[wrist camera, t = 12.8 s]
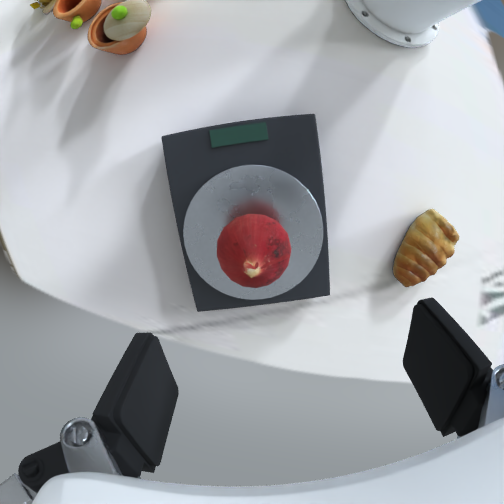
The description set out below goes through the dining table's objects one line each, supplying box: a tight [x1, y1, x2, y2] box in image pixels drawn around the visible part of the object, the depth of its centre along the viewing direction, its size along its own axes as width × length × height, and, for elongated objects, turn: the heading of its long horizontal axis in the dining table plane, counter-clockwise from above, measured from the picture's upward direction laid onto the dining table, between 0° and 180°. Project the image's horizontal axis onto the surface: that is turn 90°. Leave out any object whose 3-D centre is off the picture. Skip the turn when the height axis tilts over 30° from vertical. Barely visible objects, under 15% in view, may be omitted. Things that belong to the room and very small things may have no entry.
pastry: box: [393, 209, 459, 287], centre depth 29 cm, size 9×7×4 cm
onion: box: [217, 214, 291, 288], centre depth 22 cm, size 6×6×8 cm
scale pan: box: [183, 165, 323, 300], centre depth 27 cm, size 13×13×1 cm
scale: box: [162, 114, 330, 312], centre depth 28 cm, size 18×14×3 cm
